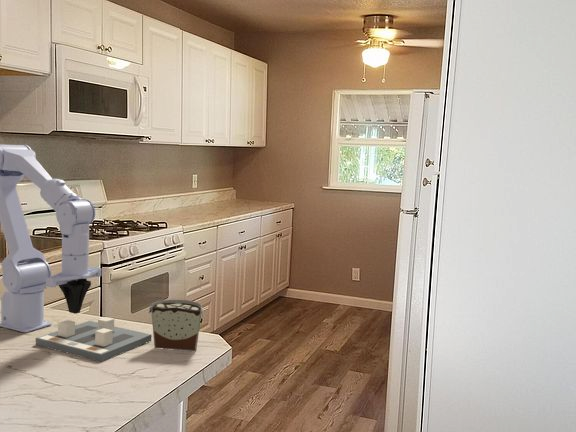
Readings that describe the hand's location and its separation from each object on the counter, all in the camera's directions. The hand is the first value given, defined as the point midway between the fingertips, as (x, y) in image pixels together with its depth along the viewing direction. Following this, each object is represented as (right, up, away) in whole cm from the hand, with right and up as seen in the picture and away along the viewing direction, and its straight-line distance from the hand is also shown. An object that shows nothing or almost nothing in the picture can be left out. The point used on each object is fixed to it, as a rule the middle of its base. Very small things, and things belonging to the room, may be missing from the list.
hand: (74, 312), depth 135 cm
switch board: (+5, -7, -1) cm, 8 cm away
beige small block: (-1, -5, -2) cm, 5 cm away
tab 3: (+9, -6, -6) cm, 12 cm away
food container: (+24, -8, 0) cm, 25 cm away
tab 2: (+7, -5, +2) cm, 8 cm away
